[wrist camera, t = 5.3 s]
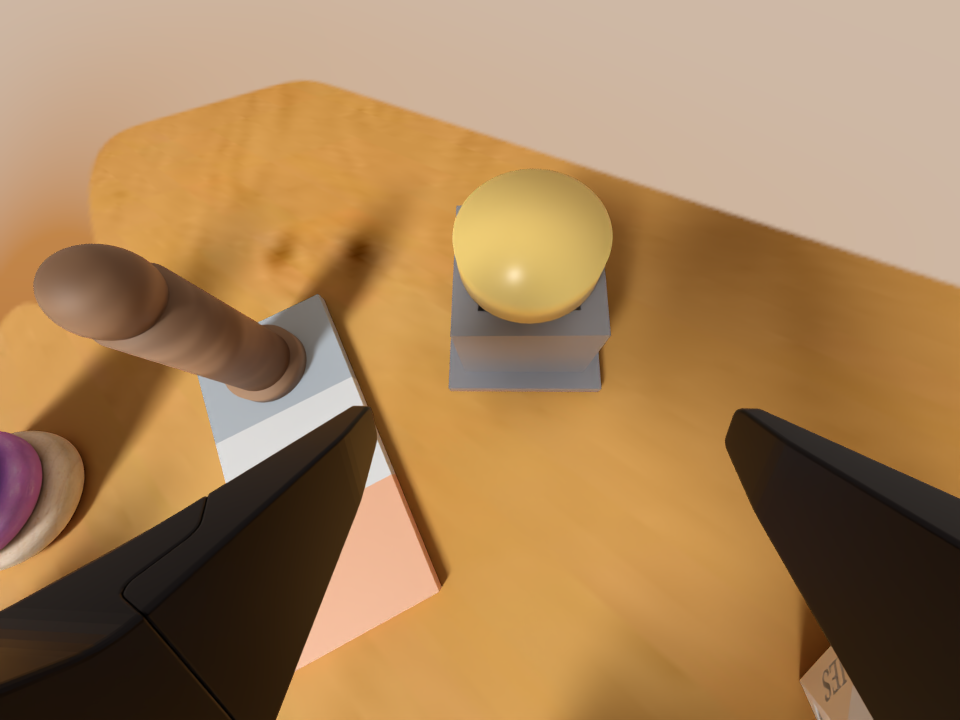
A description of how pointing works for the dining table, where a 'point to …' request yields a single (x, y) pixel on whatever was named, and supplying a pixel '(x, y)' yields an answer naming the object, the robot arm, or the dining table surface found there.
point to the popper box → (527, 346)
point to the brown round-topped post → (166, 320)
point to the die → (832, 691)
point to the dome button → (531, 244)
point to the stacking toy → (35, 492)
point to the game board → (383, 509)
